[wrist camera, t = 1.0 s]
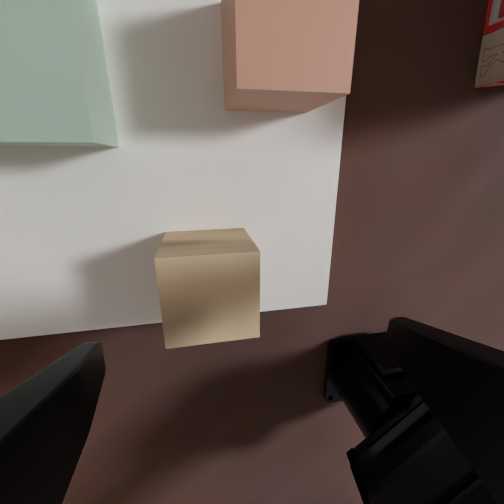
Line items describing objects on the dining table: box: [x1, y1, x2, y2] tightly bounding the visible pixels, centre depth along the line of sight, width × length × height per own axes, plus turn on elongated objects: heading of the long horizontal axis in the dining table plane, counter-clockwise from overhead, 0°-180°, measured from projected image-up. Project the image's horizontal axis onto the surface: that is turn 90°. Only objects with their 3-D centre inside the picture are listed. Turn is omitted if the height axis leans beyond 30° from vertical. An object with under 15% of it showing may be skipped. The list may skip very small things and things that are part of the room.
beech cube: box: [154, 228, 260, 349], centre depth 16 cm, size 5×5×5 cm
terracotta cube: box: [221, 0, 359, 112], centre depth 13 cm, size 5×5×5 cm
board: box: [0, 0, 346, 340], centre depth 16 cm, size 20×24×1 cm
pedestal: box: [0, 0, 119, 147], centre depth 12 cm, size 7×7×4 cm
